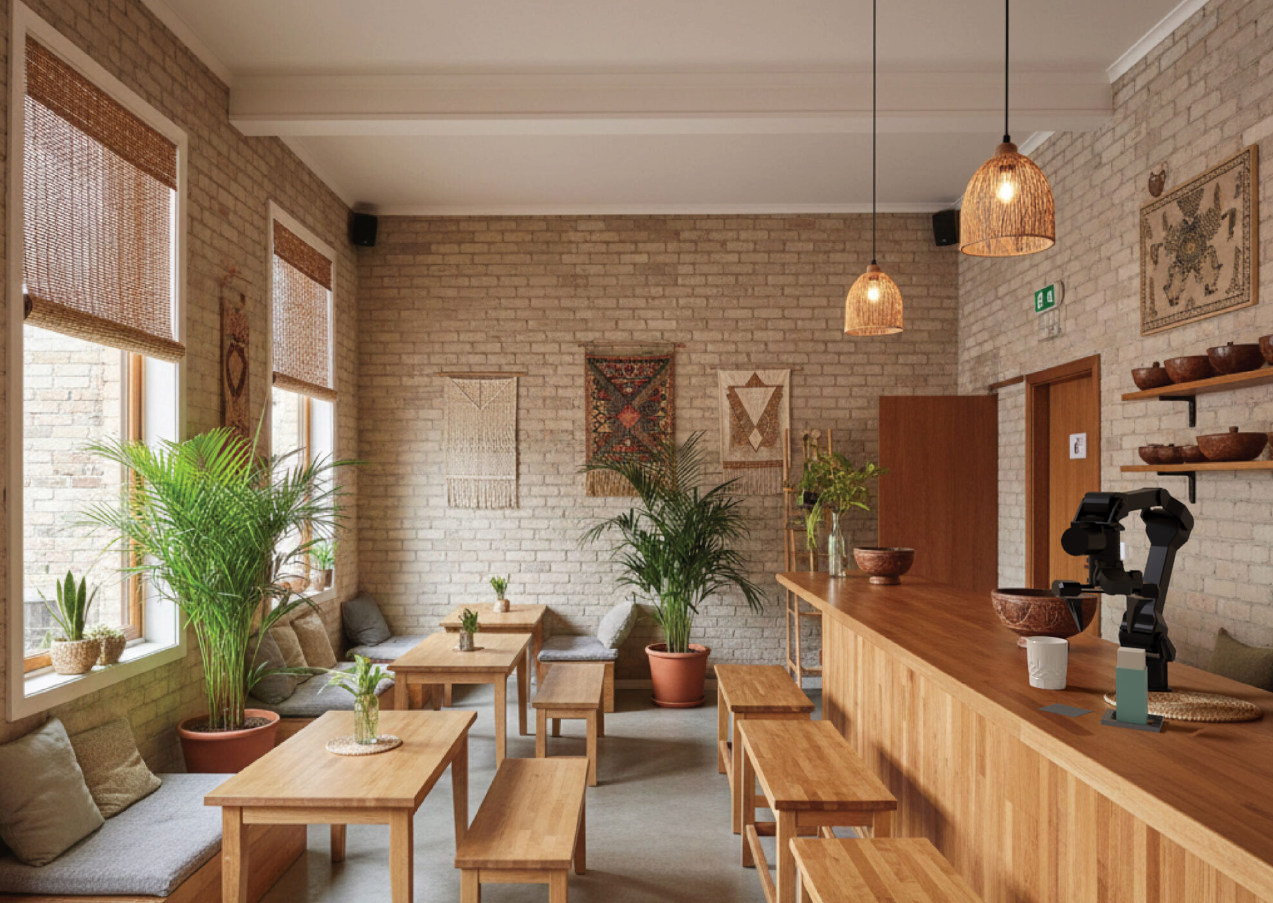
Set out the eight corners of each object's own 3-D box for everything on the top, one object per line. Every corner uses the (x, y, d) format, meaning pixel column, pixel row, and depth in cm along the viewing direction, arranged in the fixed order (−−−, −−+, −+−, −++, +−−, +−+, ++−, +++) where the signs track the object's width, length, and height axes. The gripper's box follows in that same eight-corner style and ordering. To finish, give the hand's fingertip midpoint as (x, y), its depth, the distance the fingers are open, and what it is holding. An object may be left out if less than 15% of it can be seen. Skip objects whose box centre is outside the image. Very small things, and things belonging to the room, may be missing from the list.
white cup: (1073, 693, 178) (1072, 644, 179) (1031, 691, 180) (1031, 642, 180) (1062, 684, 186) (1061, 637, 186) (1023, 682, 188) (1022, 635, 188)
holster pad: (1056, 705, 169) (1056, 703, 169) (1093, 713, 163) (1093, 711, 163) (1037, 711, 164) (1037, 709, 164) (1074, 720, 159) (1074, 717, 159)
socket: (1099, 712, 164) (1099, 705, 164) (1174, 722, 157) (1174, 715, 157) (1089, 727, 154) (1089, 720, 154) (1169, 739, 147) (1169, 731, 147)
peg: (1119, 718, 159) (1118, 646, 159) (1148, 722, 156) (1146, 649, 156) (1116, 724, 155) (1115, 650, 155) (1145, 728, 152) (1144, 653, 153)
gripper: (1069, 557, 169) (1070, 638, 169) (1173, 558, 166) (1174, 641, 166) (1050, 552, 180) (1051, 628, 180) (1147, 553, 177) (1148, 630, 177)
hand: (1105, 632), depth 175 cm, fingers open, 9 cm apart
